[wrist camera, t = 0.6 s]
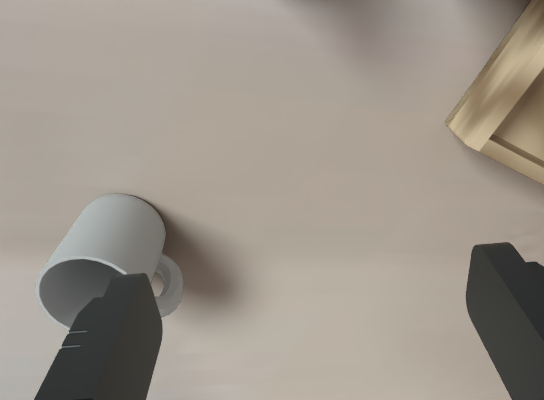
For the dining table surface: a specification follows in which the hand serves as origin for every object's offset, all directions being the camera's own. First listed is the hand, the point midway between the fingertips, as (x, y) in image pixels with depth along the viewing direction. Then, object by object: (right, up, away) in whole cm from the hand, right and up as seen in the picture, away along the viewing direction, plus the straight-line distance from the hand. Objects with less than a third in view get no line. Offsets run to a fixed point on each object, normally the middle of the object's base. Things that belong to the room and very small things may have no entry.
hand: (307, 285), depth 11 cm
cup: (-12, -1, +28) cm, 31 cm away
